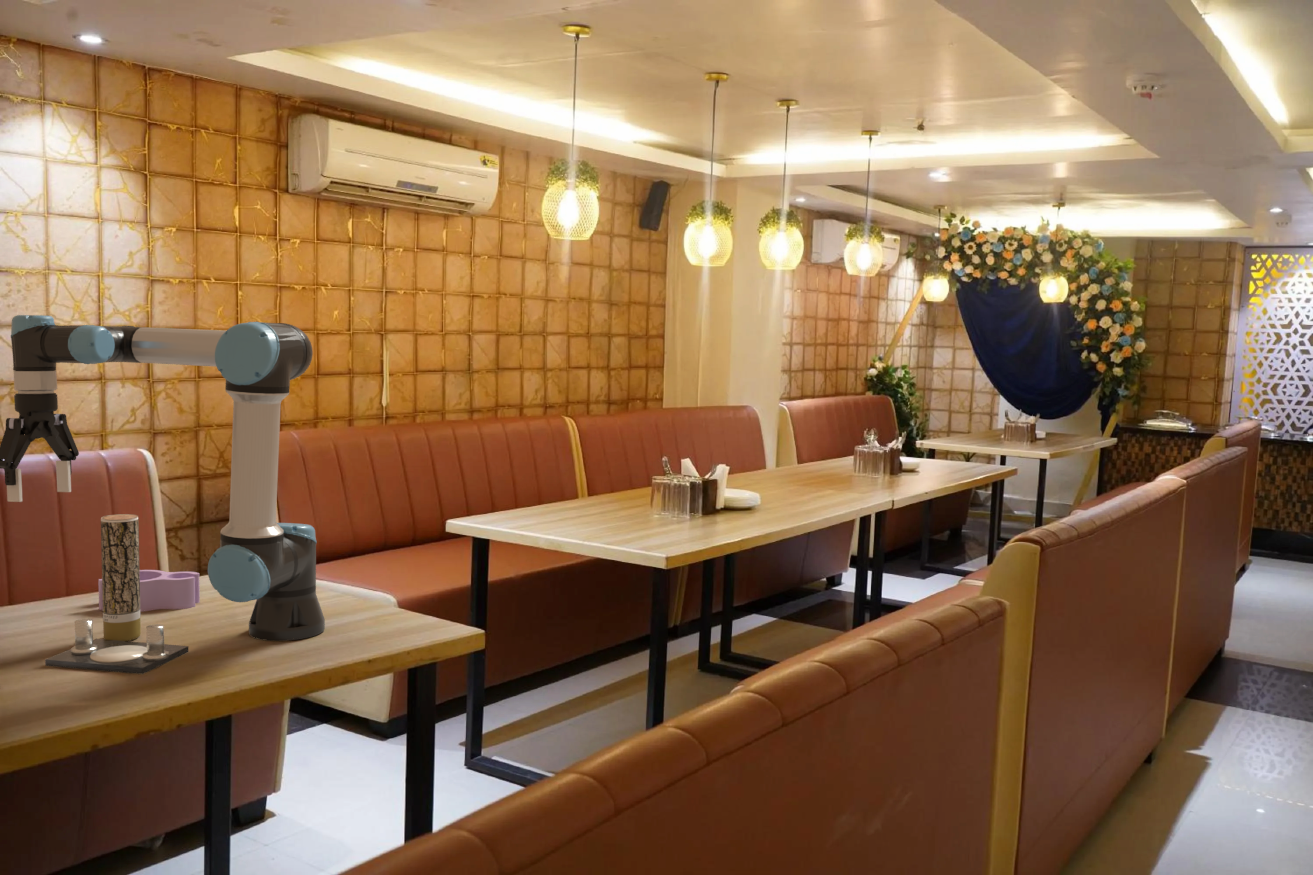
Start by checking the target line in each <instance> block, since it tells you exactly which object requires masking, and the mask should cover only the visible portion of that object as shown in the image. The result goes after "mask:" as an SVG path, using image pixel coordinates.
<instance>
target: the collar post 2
mask: <svg viewBox="0 0 1313 875" xmlns="http://www.w3.org/2000/svg"><path fill="white" fill-rule="evenodd" d="M145 632H146V643H147V652H145V653H143V660H145V661H159V660H163V659H166V658H168V657H169V652H168V651H166V650H164V644H165V625H164V624H161V623H159V624H158V623H157V624H150V625H147V626H146V630H145Z"/></svg>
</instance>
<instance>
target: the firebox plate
mask: <svg viewBox="0 0 1313 875" xmlns="http://www.w3.org/2000/svg"><path fill="white" fill-rule="evenodd" d="M93 644H94V645H97V651H98V650H101V649H104V648H109V647H115V646H125V645H135V646H143V647H146V648H147V642H141V641H132V640H131V641H118V640H106V639H104V638H103V639H102V638H95V639H93ZM164 650H166V651H168V652H169V657H168V658H166V659H163V660H159V661H145V660H143V657H141V658H139V659H135V660H130V661H125V662H114V663H103V662H96V661H93V660H91V659H90V655H91V654H87V655H73V654H71V648H70V649H68V650H65V651H63V652H60V653H58V654H55V655H53V656H50V657H48V658H45V659H44V663H45V664H44V665H45V667H55V668H57V667H58V668H69V669H79V670H89V671H90V670H92V671H101V672H102V671H103V672H115V673H122V674H123V673H125V674H136V675H137V674H138V675H144V674H145V673H148V672H151V671H152V670H155V669H156V668H159V667H160V666H163V665H165V664H166V663H169V662H171V661H173V660H175V659H177V658H179V657H182V656H183V655H186V654H188V653H189V646H188V645H180V644H179V645H178V644H177V645H176V644H167V643H164Z"/></svg>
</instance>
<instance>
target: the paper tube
mask: <svg viewBox="0 0 1313 875" xmlns="http://www.w3.org/2000/svg"><path fill="white" fill-rule="evenodd" d="M139 520H140V519H139V515H137V514H130V513H129V514H128V513H125V514H123V513H122V514H109V515H103V516H101V518H100V538H101V539H100V541H101V542H100V547H101V548H100V551H101V579H102V597H103V610H102V622H103V624H102V627H103V630H102V631H103V632H102V633H103V639H106V640H118V641H131V642H132V641H134V640H136V639H138V638H140V636H141V633H142V632H141V630H142V627H141V612H140V570H141V569H140V567H141V566H140V532H139V530H140V529H139V527H140V526H139V525H140V524H139V523H140V522H139Z"/></svg>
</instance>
